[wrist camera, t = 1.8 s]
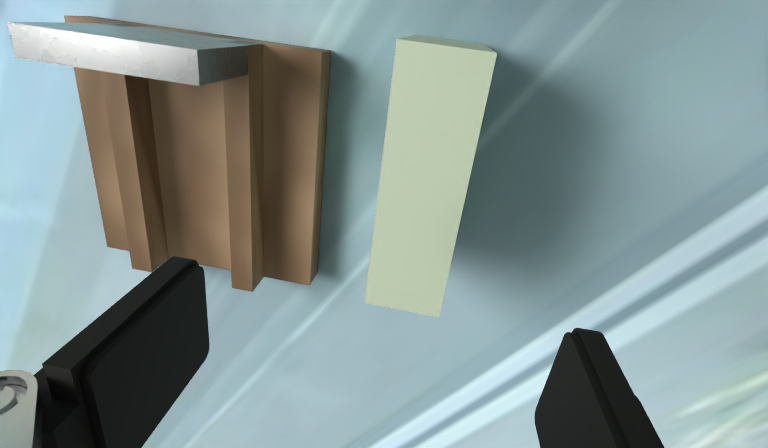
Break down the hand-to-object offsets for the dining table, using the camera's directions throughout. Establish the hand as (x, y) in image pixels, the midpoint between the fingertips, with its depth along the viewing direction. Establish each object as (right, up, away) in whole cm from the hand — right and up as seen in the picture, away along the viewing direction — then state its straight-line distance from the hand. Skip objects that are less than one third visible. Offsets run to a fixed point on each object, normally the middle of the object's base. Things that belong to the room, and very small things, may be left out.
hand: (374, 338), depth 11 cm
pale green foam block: (+3, +8, +17) cm, 19 cm away
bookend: (-11, +13, +14) cm, 23 cm away
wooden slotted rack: (-12, +8, +19) cm, 24 cm away
